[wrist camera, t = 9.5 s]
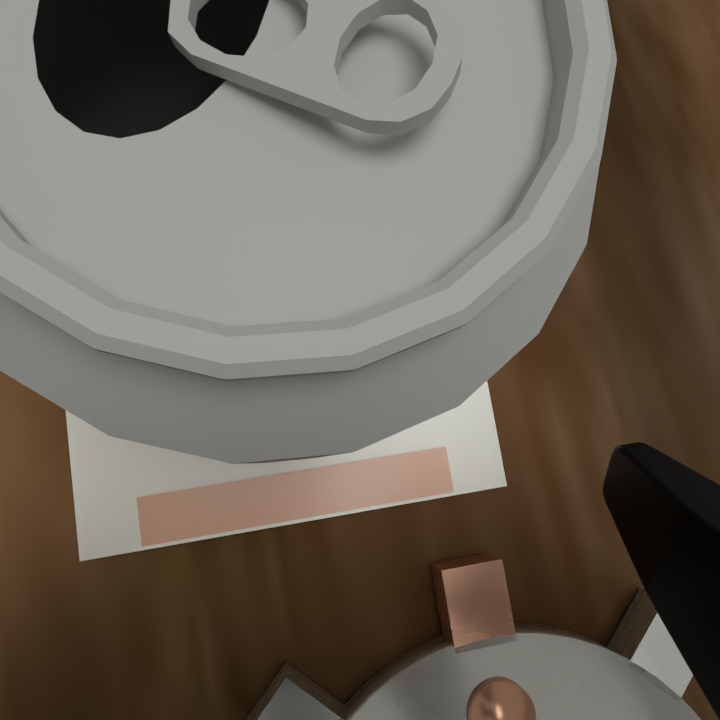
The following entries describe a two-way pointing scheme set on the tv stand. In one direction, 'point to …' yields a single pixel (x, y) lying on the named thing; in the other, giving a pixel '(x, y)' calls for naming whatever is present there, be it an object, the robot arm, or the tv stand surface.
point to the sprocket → (504, 666)
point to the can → (288, 208)
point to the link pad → (268, 482)
